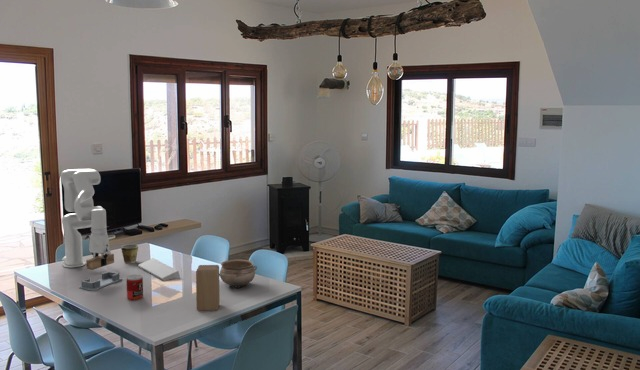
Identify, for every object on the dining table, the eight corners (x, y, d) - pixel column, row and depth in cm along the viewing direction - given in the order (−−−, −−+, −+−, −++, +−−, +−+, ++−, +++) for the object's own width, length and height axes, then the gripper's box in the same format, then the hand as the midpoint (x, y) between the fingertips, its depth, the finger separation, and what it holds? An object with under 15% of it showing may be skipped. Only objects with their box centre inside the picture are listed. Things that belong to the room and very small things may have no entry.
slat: (86, 269, 295) (86, 260, 295) (108, 261, 310) (108, 253, 309) (92, 270, 294) (92, 260, 293) (114, 262, 308) (113, 253, 308)
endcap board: (79, 288, 295) (78, 281, 295) (107, 277, 315) (107, 270, 314) (93, 290, 292) (93, 283, 291) (122, 279, 311) (121, 273, 311)
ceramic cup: (141, 262, 347) (141, 246, 346) (126, 265, 340) (126, 249, 339) (131, 258, 356) (130, 242, 355) (116, 261, 349) (115, 245, 348)
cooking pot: (247, 277, 319) (247, 256, 317) (266, 285, 305) (266, 263, 303) (208, 285, 303) (208, 263, 301) (226, 294, 288) (226, 271, 287)
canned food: (134, 301, 276) (133, 280, 275) (123, 298, 280) (122, 277, 279) (146, 297, 282) (146, 276, 281) (135, 294, 287) (135, 273, 285)
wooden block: (199, 304, 274) (198, 264, 271) (219, 303, 274) (219, 264, 272) (196, 311, 264) (195, 270, 261) (217, 311, 265) (217, 270, 262)
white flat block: (164, 286, 311) (180, 278, 317) (162, 278, 309) (178, 270, 315) (140, 272, 337) (155, 265, 343) (137, 264, 335) (153, 258, 341)
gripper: (81, 231, 299) (83, 265, 301) (106, 234, 293) (107, 268, 295) (92, 229, 306) (93, 261, 308) (116, 231, 300) (117, 264, 302)
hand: (100, 264), depth 302 cm, fingers closed on slat, 4 cm apart
